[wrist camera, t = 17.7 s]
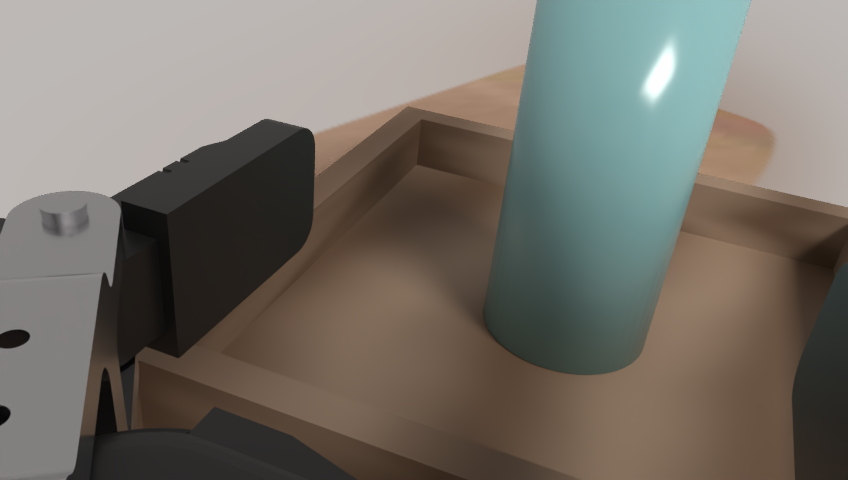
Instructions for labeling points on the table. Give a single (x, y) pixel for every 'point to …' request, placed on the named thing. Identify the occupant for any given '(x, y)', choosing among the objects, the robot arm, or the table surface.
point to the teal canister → (603, 173)
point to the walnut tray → (483, 355)
